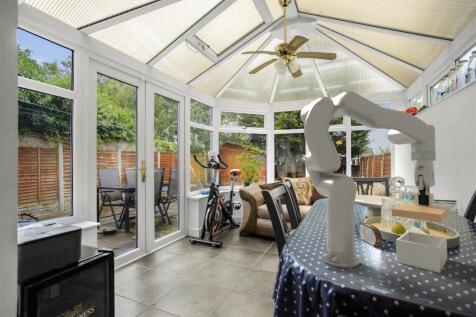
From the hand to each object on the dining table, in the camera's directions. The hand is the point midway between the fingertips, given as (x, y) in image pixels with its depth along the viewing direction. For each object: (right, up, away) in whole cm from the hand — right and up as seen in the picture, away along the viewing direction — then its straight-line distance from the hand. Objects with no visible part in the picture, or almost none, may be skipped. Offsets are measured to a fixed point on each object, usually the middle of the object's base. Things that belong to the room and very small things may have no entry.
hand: (424, 204), depth 91 cm
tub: (-5, -20, -5) cm, 21 cm away
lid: (-5, -3, -4) cm, 7 cm away
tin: (-13, -20, +15) cm, 28 cm away
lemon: (+2, -20, +17) cm, 27 cm away
